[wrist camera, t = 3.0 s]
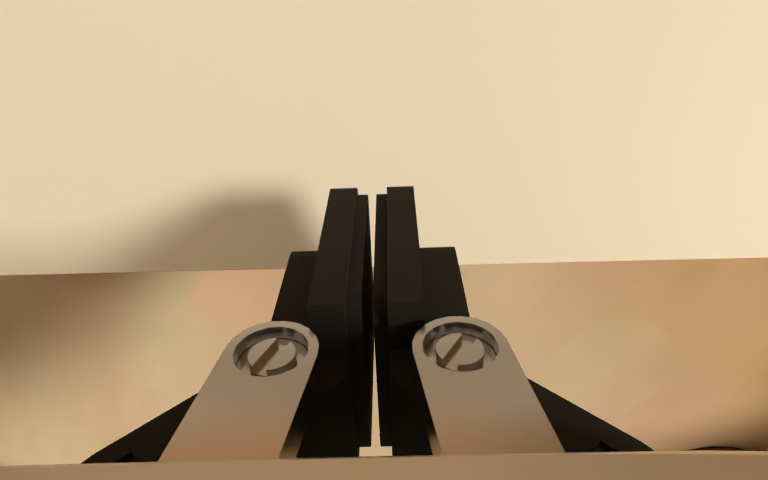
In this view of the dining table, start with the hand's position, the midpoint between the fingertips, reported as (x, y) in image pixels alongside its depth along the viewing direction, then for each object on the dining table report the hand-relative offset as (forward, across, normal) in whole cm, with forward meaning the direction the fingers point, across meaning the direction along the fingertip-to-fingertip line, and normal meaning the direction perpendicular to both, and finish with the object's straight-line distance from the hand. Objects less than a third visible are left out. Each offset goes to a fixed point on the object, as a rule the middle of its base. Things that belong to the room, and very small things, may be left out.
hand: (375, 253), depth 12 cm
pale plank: (+5, 0, -2) cm, 5 cm away
